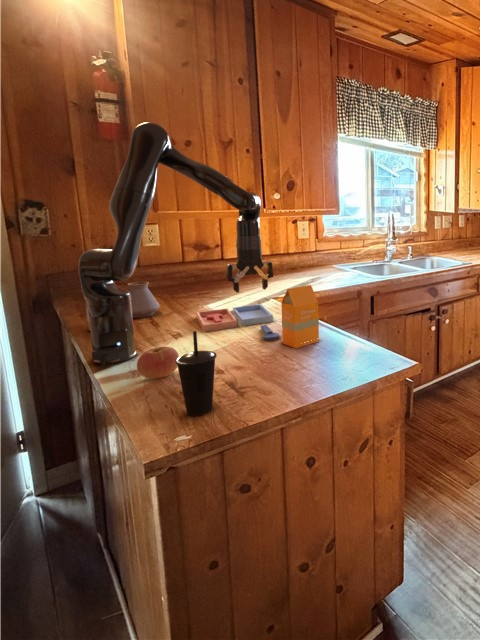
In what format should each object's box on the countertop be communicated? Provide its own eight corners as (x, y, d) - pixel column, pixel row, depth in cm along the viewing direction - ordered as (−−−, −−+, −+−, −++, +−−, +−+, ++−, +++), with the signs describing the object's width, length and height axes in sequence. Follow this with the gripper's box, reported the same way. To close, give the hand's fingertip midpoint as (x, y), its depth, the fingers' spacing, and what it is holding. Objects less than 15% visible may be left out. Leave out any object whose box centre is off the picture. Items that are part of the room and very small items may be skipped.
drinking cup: (226, 403, 101) (222, 326, 98) (204, 420, 94) (199, 337, 91) (195, 402, 101) (190, 325, 98) (170, 419, 93) (164, 336, 90)
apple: (182, 376, 114) (181, 349, 112) (140, 386, 107) (137, 357, 106) (176, 366, 119) (174, 340, 118) (135, 375, 113) (133, 348, 112)
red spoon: (227, 324, 155) (226, 319, 154) (210, 326, 151) (210, 322, 151) (220, 315, 164) (220, 311, 164) (205, 317, 161) (205, 313, 161)
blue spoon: (256, 331, 151) (255, 326, 151) (271, 328, 154) (271, 324, 154) (265, 341, 141) (265, 336, 141) (281, 338, 145) (281, 334, 144)
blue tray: (272, 321, 162) (272, 315, 162) (242, 325, 155) (242, 319, 155) (261, 309, 176) (260, 304, 176) (233, 313, 169) (232, 307, 169)
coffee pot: (159, 308, 170) (156, 273, 167) (161, 315, 161) (158, 279, 159) (85, 317, 155) (81, 279, 153) (83, 325, 147) (79, 285, 145)
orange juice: (319, 341, 145) (318, 286, 142) (295, 348, 137) (293, 291, 134) (306, 336, 148) (304, 283, 145) (282, 343, 141) (280, 287, 138)
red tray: (237, 326, 154) (236, 320, 154) (203, 331, 147) (203, 325, 147) (227, 314, 168) (227, 308, 168) (196, 318, 161) (196, 312, 161)
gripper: (227, 249, 139) (230, 295, 141) (274, 247, 149) (275, 290, 152) (223, 246, 144) (225, 291, 147) (268, 244, 154) (269, 286, 157)
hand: (251, 290), depth 149 cm, fingers open, 8 cm apart
